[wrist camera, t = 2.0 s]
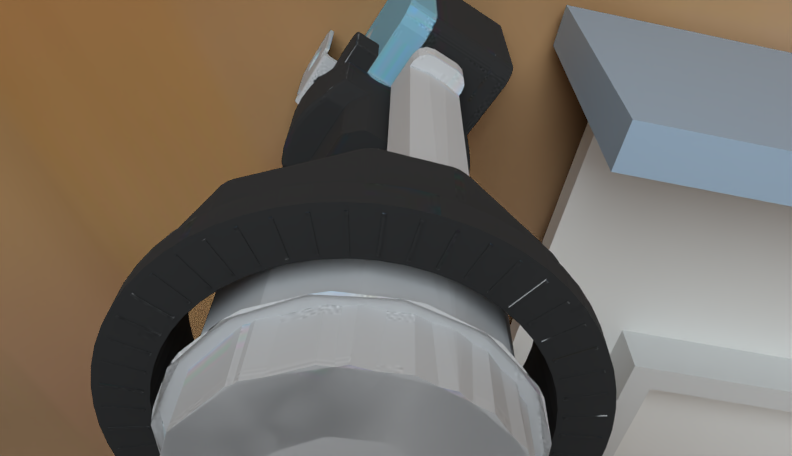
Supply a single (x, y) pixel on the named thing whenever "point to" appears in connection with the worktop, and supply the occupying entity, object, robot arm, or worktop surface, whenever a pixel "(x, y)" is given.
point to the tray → (682, 232)
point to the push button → (361, 283)
